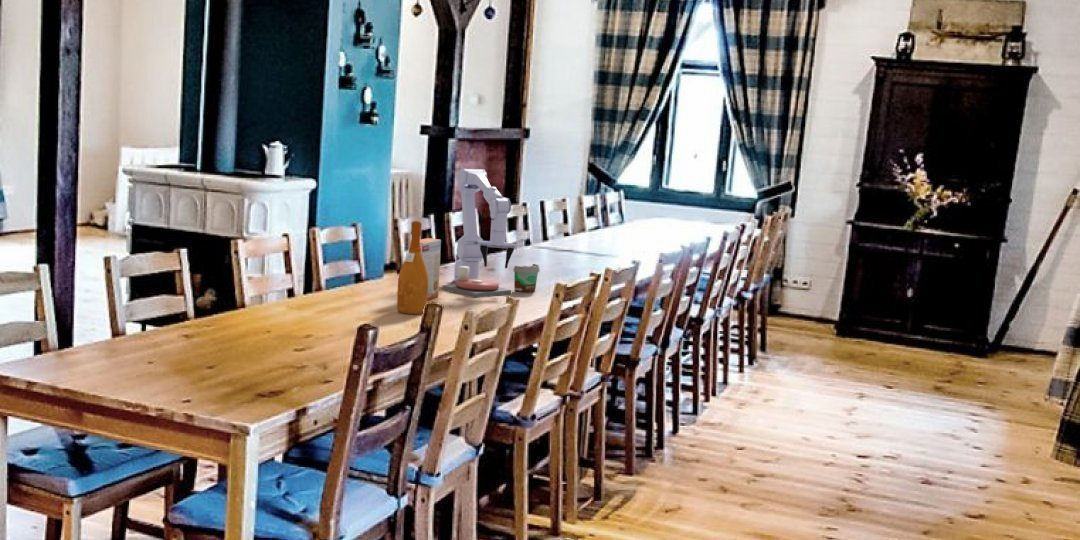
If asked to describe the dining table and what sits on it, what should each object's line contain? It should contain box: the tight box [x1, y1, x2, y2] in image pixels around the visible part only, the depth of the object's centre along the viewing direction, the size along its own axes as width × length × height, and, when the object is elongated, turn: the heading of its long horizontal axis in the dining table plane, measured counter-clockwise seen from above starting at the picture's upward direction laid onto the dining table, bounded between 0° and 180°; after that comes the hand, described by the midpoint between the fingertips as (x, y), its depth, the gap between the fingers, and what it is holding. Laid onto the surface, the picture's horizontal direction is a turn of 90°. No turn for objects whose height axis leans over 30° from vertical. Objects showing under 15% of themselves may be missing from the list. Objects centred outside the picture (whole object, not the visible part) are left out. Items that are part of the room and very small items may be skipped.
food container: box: [513, 263, 541, 294], centre depth 413 cm, size 12×6×10 cm, turn 143°
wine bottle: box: [396, 220, 428, 315], centre depth 356 cm, size 10×10×30 cm
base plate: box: [442, 283, 512, 299], centre depth 406 cm, size 18×18×2 cm
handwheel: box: [455, 266, 500, 290], centre depth 405 cm, size 16×16×6 cm
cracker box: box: [408, 237, 442, 301], centre depth 381 cm, size 14×6×21 cm, turn 158°
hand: (495, 267), depth 405 cm, fingers open, 7 cm apart
